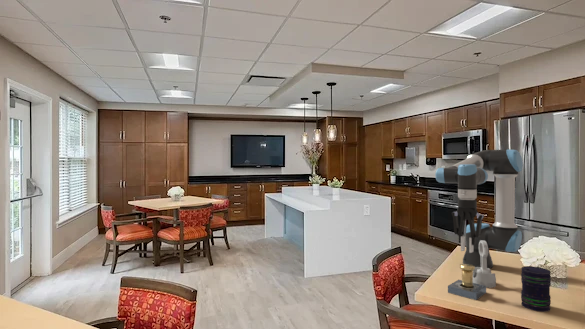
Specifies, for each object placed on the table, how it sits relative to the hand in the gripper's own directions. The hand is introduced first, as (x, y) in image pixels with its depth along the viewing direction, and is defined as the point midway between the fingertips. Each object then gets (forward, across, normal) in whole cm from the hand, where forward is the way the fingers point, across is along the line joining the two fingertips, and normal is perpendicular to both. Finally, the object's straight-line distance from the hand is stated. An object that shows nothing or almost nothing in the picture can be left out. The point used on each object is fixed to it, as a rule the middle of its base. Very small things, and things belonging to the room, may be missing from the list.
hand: (467, 251), depth 159 cm
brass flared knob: (+19, 0, 0) cm, 19 cm away
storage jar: (+19, +25, +4) cm, 32 cm away
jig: (+19, 0, 0) cm, 19 cm away
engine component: (+19, +1, +18) cm, 26 cm away
